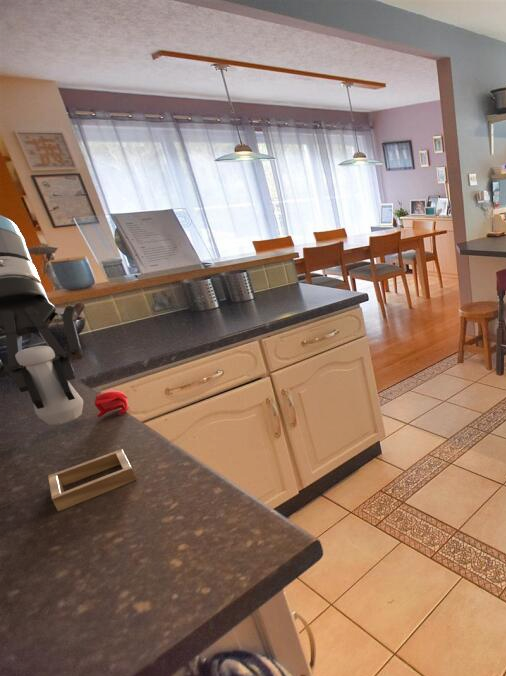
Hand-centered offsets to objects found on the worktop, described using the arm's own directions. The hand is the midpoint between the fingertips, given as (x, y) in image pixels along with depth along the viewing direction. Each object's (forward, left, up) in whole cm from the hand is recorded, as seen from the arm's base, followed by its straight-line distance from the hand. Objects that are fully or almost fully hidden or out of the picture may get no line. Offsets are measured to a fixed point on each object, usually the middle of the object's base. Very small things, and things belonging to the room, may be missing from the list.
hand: (54, 400), depth 70 cm
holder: (-1, +1, -17) cm, 17 cm away
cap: (-23, +28, -17) cm, 40 cm away
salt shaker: (-3, +3, -5) cm, 6 cm away
